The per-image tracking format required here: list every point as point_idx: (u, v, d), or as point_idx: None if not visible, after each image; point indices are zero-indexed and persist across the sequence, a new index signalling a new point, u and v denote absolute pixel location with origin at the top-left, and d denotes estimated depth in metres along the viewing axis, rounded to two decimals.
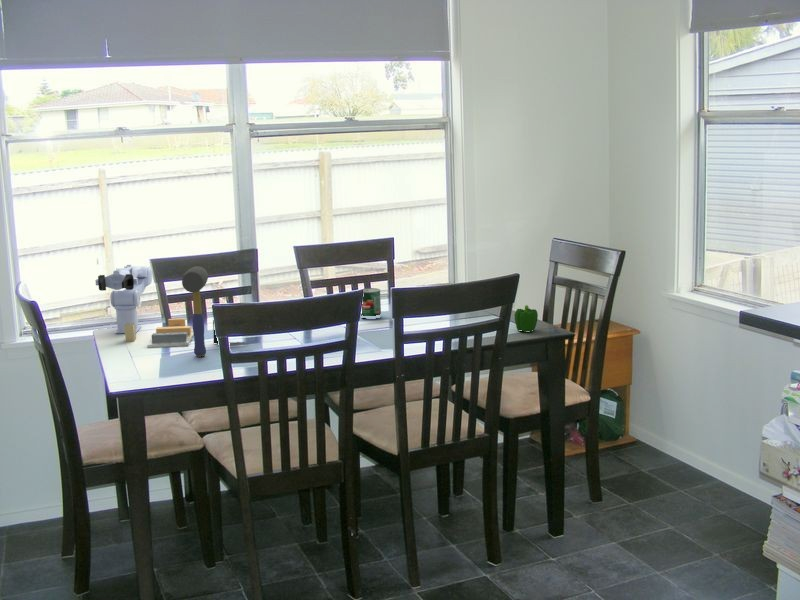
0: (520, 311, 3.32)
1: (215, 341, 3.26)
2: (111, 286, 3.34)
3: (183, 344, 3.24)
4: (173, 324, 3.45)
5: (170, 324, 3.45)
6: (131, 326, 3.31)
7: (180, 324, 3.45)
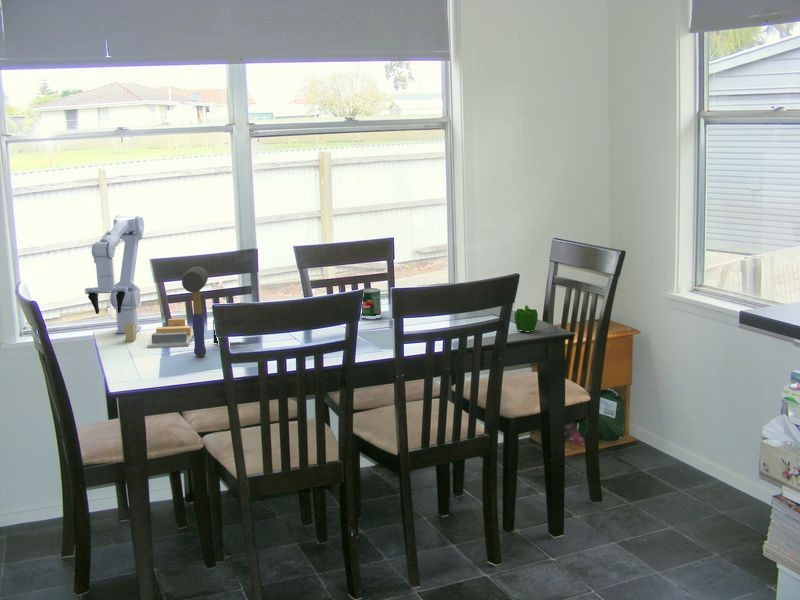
0: (520, 311, 3.32)
1: (215, 341, 3.26)
2: None
3: (183, 344, 3.24)
4: (173, 324, 3.45)
5: (170, 324, 3.45)
6: (131, 326, 3.31)
7: (180, 324, 3.45)
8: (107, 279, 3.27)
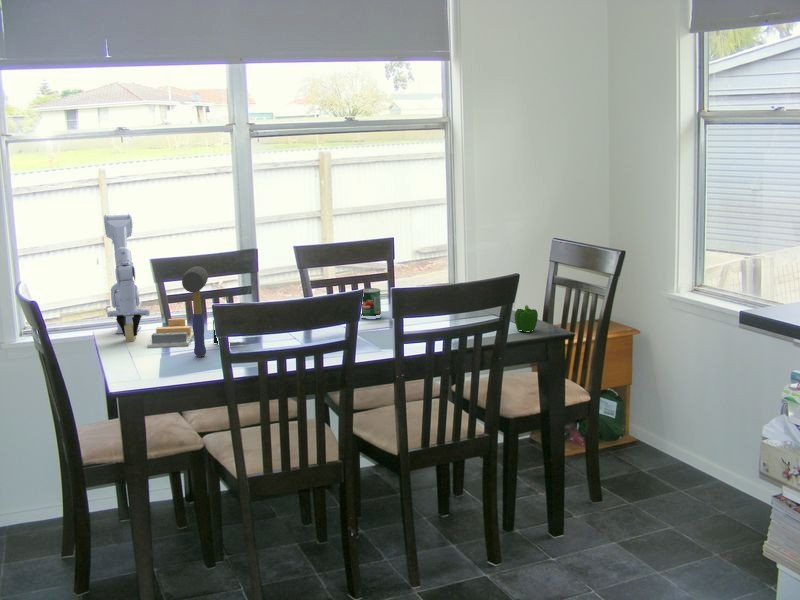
0: (520, 311, 3.32)
1: (215, 341, 3.26)
2: None
3: (183, 344, 3.24)
4: (173, 324, 3.45)
5: (170, 324, 3.45)
6: (131, 326, 3.31)
7: (180, 324, 3.45)
8: (129, 302, 3.29)
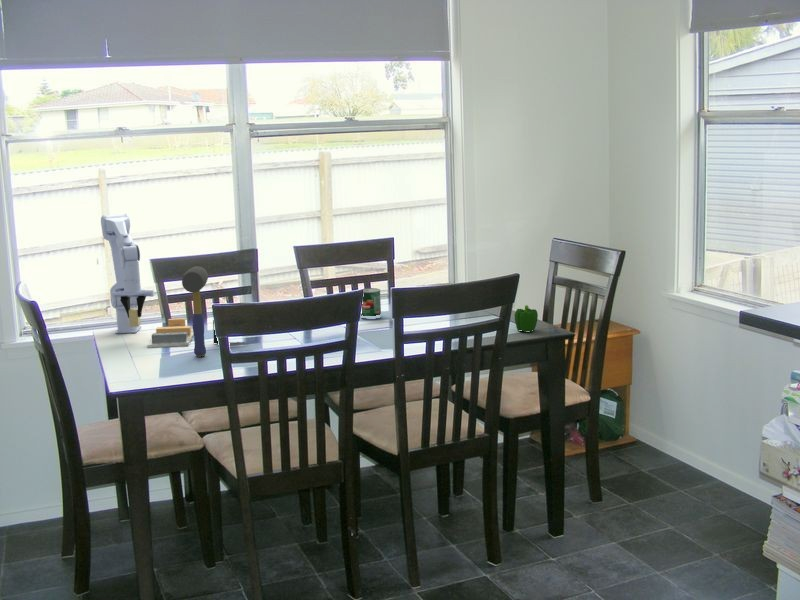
0: (520, 311, 3.32)
1: (215, 341, 3.26)
2: None
3: (183, 344, 3.24)
4: (173, 324, 3.45)
5: (170, 324, 3.45)
6: (135, 311, 3.30)
7: (180, 324, 3.45)
8: (133, 283, 3.27)
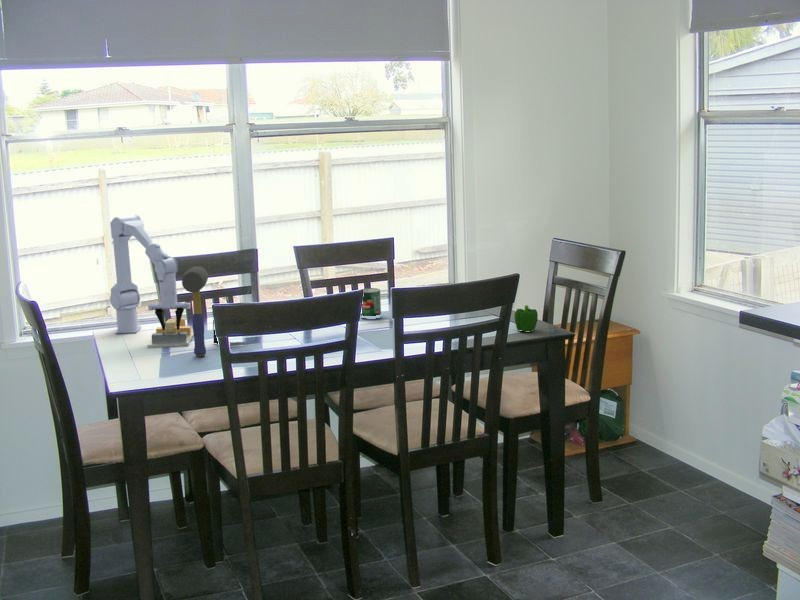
0: (520, 311, 3.32)
1: (215, 341, 3.26)
2: None
3: (183, 344, 3.24)
4: None
5: None
6: (172, 323, 3.29)
7: (180, 324, 3.45)
8: (170, 295, 3.27)
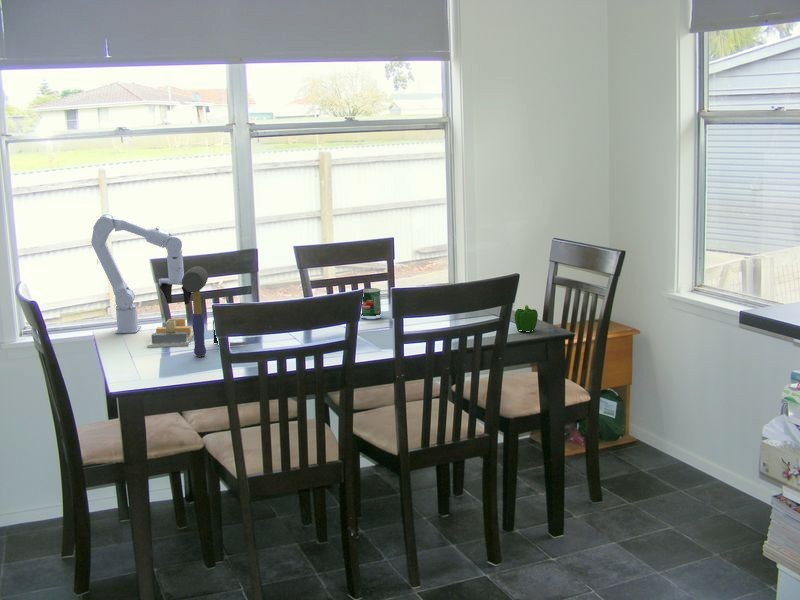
0: (520, 311, 3.32)
1: (215, 341, 3.26)
2: None
3: (183, 344, 3.24)
4: None
5: None
6: (172, 323, 3.29)
7: (180, 324, 3.45)
8: (175, 271, 3.45)
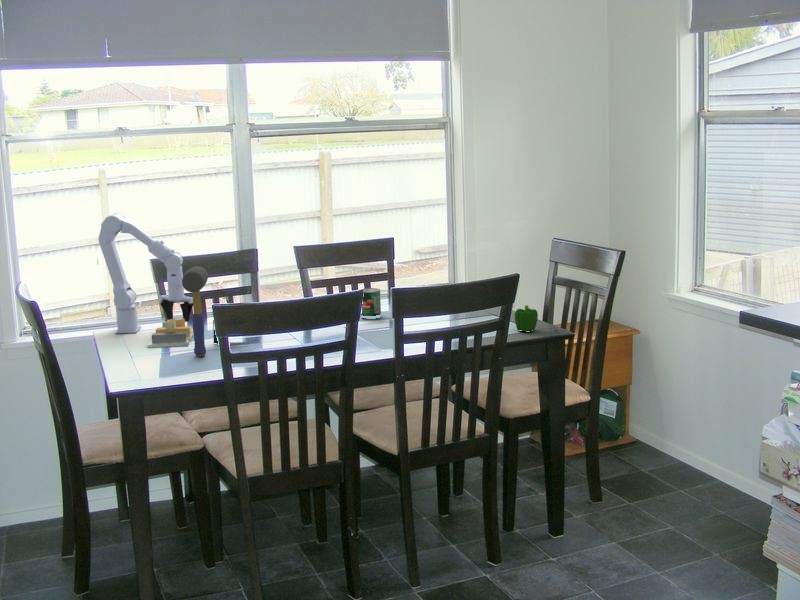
0: (520, 311, 3.32)
1: (215, 341, 3.26)
2: None
3: (183, 344, 3.24)
4: None
5: None
6: (172, 323, 3.29)
7: (180, 324, 3.44)
8: (173, 289, 3.43)
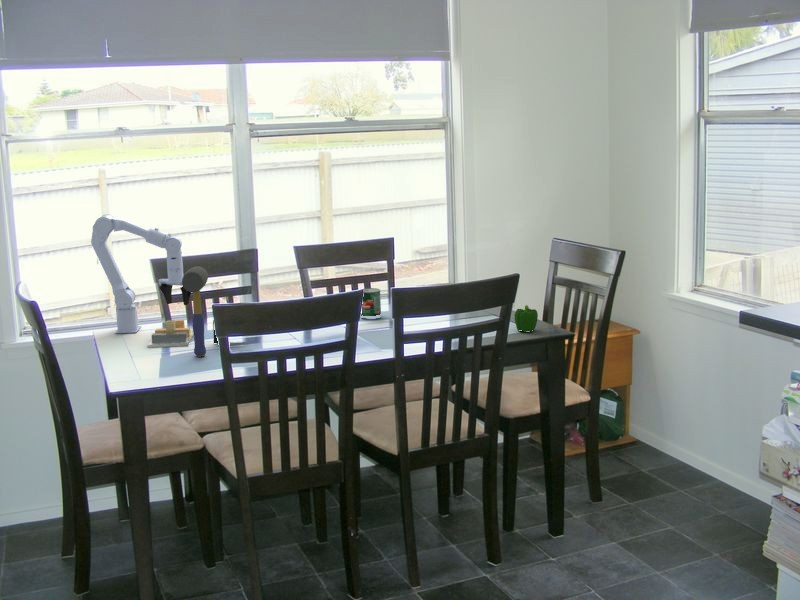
0: (520, 311, 3.32)
1: (215, 341, 3.26)
2: None
3: (183, 344, 3.24)
4: None
5: None
6: (172, 324, 3.29)
7: (179, 326, 3.42)
8: (174, 272, 3.44)
